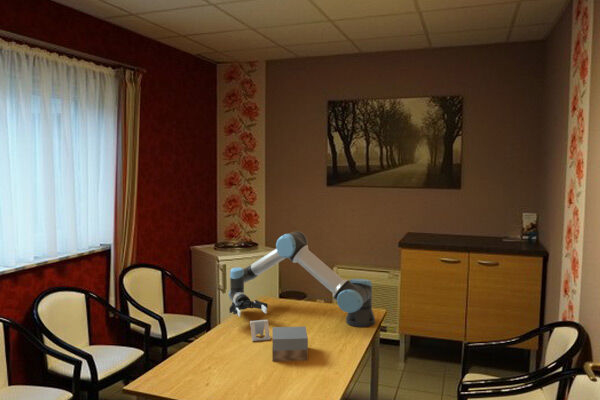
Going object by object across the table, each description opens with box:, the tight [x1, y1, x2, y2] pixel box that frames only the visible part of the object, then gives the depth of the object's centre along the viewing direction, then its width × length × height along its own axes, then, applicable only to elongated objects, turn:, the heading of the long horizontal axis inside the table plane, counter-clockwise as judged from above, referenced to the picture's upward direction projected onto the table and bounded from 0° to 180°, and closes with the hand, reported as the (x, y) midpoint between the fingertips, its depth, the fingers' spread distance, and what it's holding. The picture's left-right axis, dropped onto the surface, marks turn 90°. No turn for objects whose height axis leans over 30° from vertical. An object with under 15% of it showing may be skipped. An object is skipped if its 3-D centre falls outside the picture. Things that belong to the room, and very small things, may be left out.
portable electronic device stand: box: [249, 319, 271, 342], centre depth 235 cm, size 9×8×8 cm
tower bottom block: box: [271, 346, 309, 362], centre depth 216 cm, size 15×15×5 cm
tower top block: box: [272, 325, 309, 351], centre depth 216 cm, size 15×15×5 cm
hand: (253, 312), depth 244 cm, fingers open, 13 cm apart
